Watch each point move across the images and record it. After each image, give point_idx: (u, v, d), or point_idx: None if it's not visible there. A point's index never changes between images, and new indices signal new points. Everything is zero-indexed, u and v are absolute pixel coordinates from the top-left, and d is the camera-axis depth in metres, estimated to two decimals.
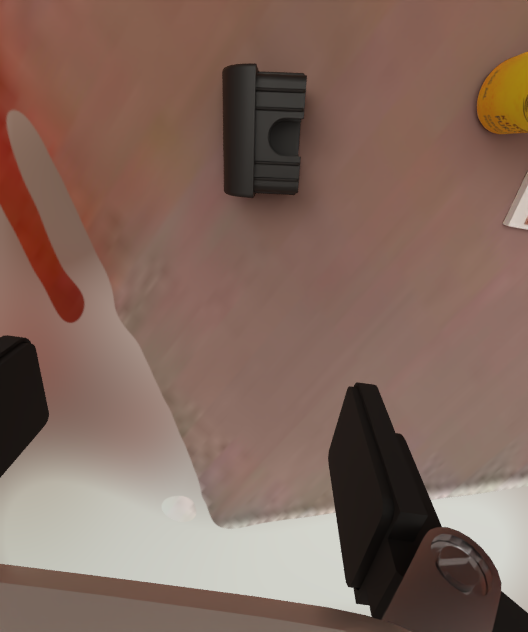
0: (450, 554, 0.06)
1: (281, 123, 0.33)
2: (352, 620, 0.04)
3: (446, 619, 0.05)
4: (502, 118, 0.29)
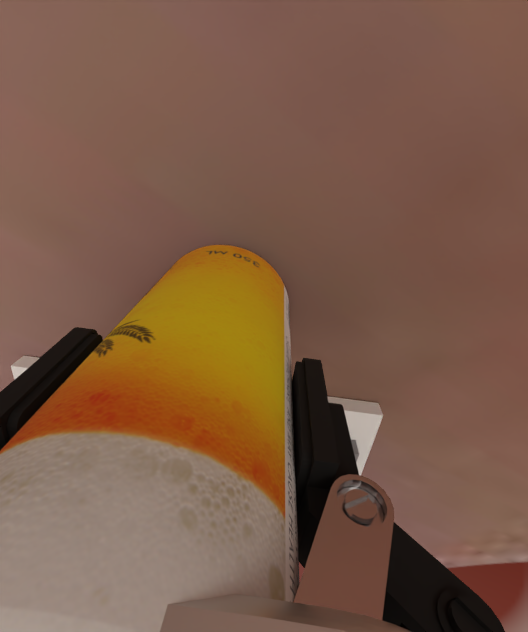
0: (353, 496, 0.07)
1: None
2: (352, 620, 0.04)
3: (336, 542, 0.06)
4: (147, 293, 0.12)
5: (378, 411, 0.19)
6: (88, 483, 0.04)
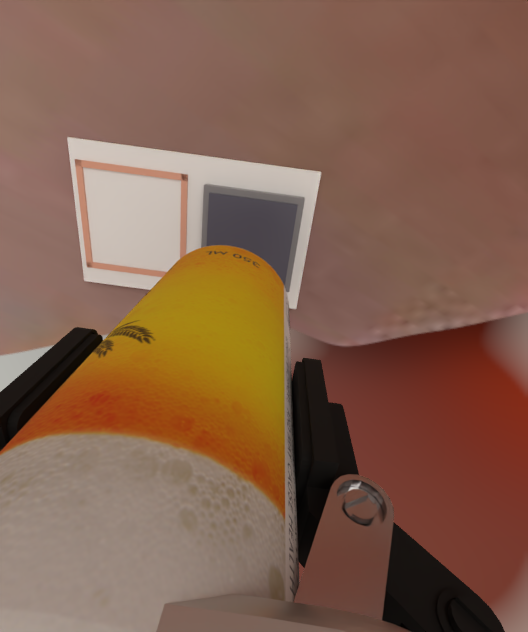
0: (353, 496, 0.07)
1: None
2: (352, 620, 0.04)
3: (336, 541, 0.06)
4: None
5: (318, 171, 0.27)
6: (88, 484, 0.04)
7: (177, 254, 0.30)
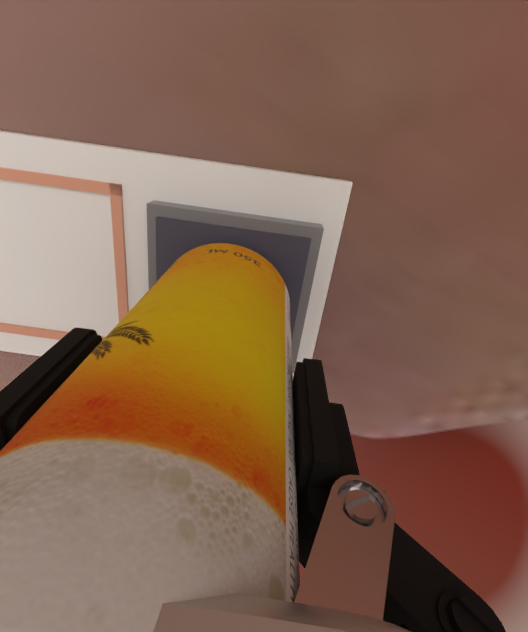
0: (354, 497, 0.07)
1: None
2: (352, 619, 0.04)
3: (337, 542, 0.06)
4: None
5: (347, 181, 0.16)
6: (83, 493, 0.04)
7: (115, 311, 0.19)
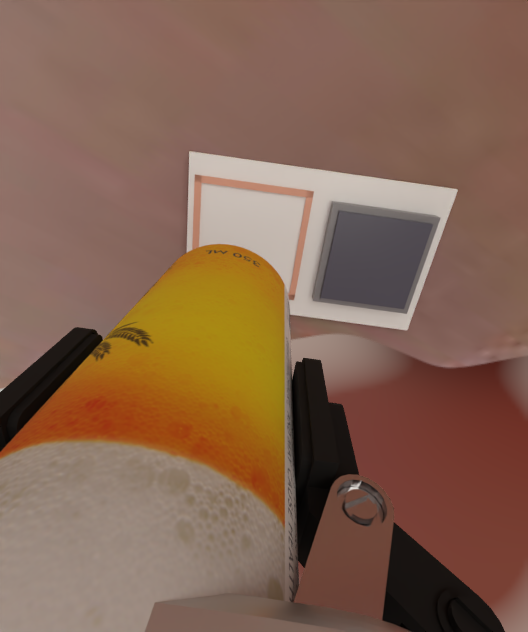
0: (353, 496, 0.07)
1: None
2: (352, 619, 0.04)
3: (336, 542, 0.06)
4: None
5: None
6: (82, 496, 0.04)
7: (289, 273, 0.29)
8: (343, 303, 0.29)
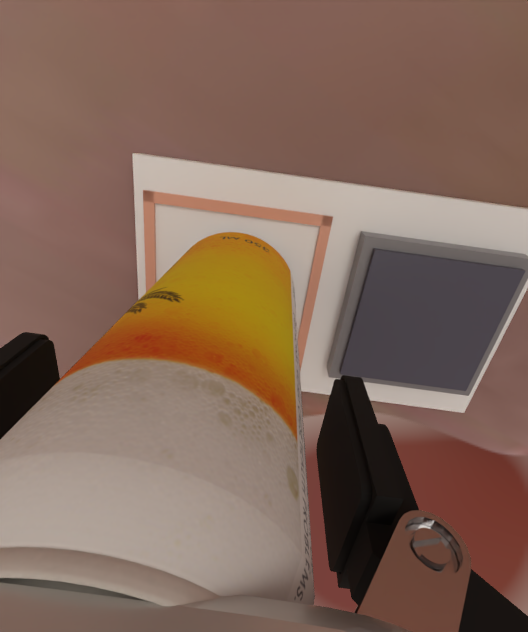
0: (423, 535, 0.06)
1: None
2: (352, 618, 0.04)
3: (415, 594, 0.05)
4: None
5: None
6: (145, 389, 0.05)
7: None
8: (374, 380, 0.19)
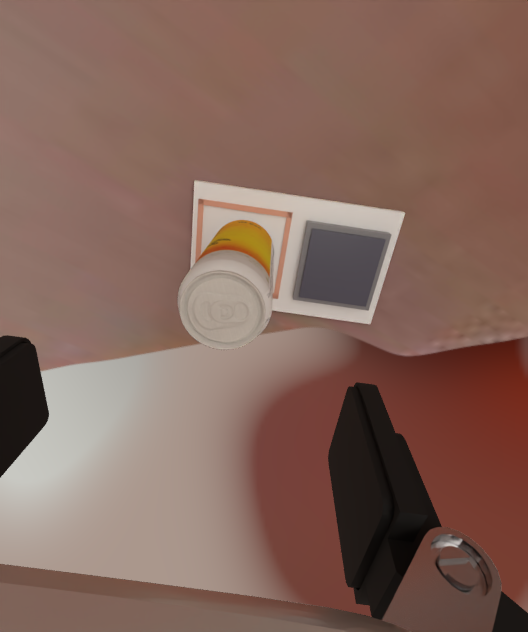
0: (450, 554, 0.06)
1: None
2: (352, 619, 0.04)
3: (446, 619, 0.05)
4: (215, 236, 0.29)
5: (402, 212, 0.32)
6: (230, 253, 0.22)
7: (273, 277, 0.35)
8: (317, 301, 0.35)
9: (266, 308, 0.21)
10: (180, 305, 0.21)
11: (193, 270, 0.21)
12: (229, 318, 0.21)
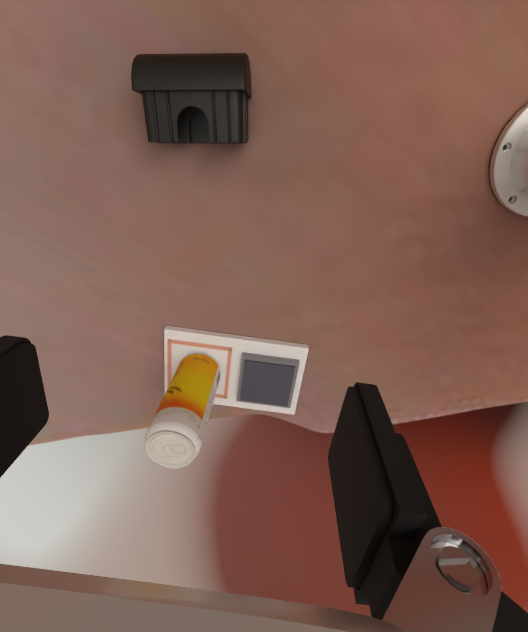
0: (450, 554, 0.06)
1: None
2: (352, 620, 0.04)
3: (446, 619, 0.05)
4: (176, 373, 0.44)
5: (307, 347, 0.47)
6: (176, 412, 0.37)
7: (223, 385, 0.50)
8: (253, 402, 0.50)
9: (196, 447, 0.36)
10: (145, 446, 0.36)
11: (153, 426, 0.36)
12: (174, 453, 0.36)
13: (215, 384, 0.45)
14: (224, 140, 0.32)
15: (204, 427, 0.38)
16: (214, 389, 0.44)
